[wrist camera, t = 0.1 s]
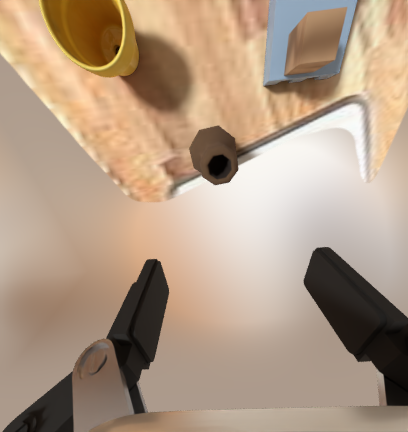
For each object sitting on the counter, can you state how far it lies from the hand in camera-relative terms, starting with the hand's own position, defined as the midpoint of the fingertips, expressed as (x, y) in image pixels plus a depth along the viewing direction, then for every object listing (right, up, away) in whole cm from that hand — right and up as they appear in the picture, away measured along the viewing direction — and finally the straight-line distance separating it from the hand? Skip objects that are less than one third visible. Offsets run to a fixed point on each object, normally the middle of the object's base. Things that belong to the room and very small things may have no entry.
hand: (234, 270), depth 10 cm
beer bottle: (-1, +19, +25) cm, 32 cm away
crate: (+14, +30, +16) cm, 37 cm away
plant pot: (-17, +33, +18) cm, 41 cm away
